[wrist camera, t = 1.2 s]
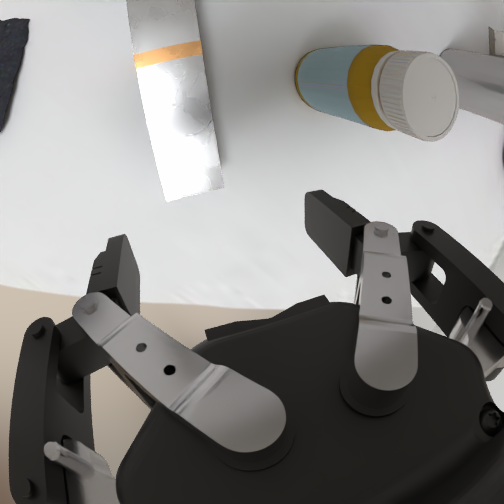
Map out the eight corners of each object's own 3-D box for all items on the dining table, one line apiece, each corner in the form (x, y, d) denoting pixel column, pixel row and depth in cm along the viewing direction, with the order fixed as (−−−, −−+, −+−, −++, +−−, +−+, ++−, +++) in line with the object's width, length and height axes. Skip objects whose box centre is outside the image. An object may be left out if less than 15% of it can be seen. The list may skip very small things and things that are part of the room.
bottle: (299, 116, 27) (399, 156, 15) (286, 53, 23) (389, 43, 11) (354, 106, 28) (462, 141, 16) (345, 47, 24) (458, 50, 12)
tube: (130, -6, 16) (123, -23, 12) (185, -18, 17) (189, -37, 13) (165, 182, 27) (166, 202, 23) (215, 170, 28) (224, 187, 24)
